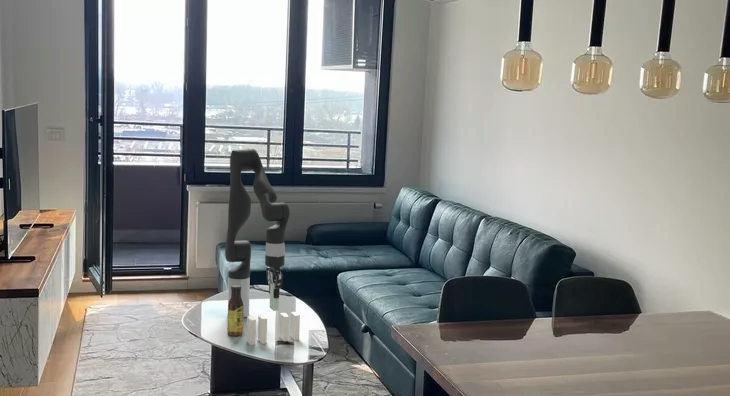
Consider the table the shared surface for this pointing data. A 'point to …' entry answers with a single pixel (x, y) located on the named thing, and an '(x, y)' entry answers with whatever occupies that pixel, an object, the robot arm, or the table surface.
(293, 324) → the domino
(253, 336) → the domino
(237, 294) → the sauce bottle
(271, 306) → the domino
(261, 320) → the domino
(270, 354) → the table surface
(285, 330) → the domino
